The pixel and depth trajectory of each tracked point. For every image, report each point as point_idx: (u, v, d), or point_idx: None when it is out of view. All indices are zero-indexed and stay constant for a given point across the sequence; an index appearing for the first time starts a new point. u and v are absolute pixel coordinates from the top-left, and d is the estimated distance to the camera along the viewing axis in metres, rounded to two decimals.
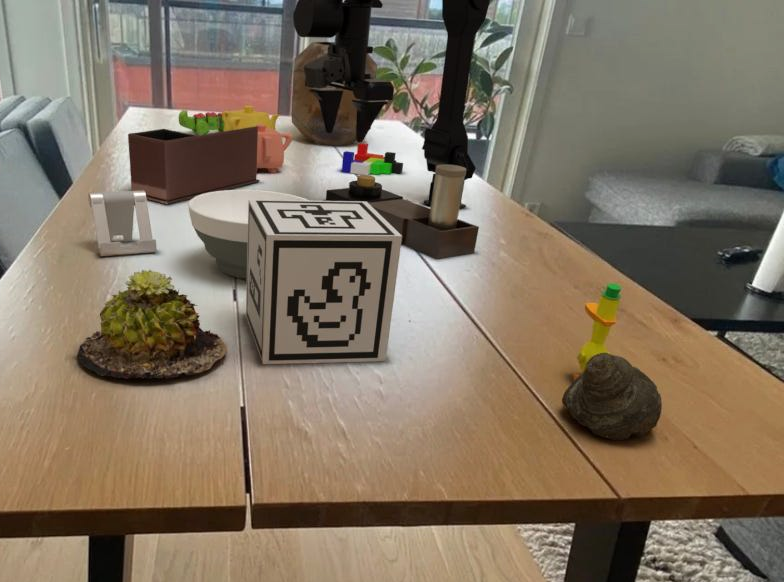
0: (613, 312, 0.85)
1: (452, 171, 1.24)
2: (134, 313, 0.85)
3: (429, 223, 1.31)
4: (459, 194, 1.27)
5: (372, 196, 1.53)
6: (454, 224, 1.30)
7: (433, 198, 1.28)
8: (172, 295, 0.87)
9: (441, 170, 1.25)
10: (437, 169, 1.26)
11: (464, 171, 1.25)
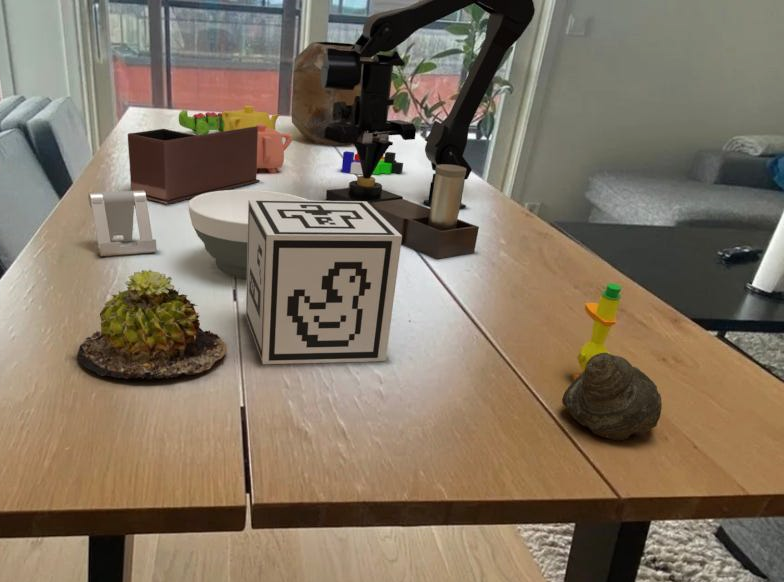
0: (613, 312, 0.85)
1: (452, 171, 1.24)
2: (134, 313, 0.85)
3: (429, 223, 1.31)
4: (459, 194, 1.27)
5: (372, 196, 1.53)
6: (454, 224, 1.30)
7: (433, 198, 1.28)
8: (172, 295, 0.87)
9: (441, 170, 1.25)
10: (437, 169, 1.26)
11: (464, 171, 1.25)
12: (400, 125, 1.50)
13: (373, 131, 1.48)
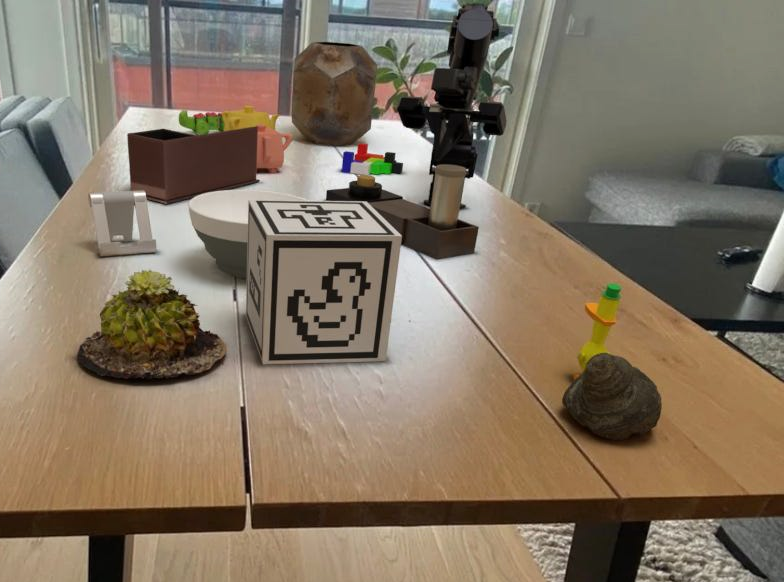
0: (613, 312, 0.85)
1: (452, 171, 1.24)
2: (134, 313, 0.85)
3: (429, 223, 1.31)
4: (459, 194, 1.27)
5: (372, 196, 1.53)
6: (454, 224, 1.30)
7: (433, 198, 1.28)
8: (172, 295, 0.87)
9: (441, 170, 1.25)
10: (437, 169, 1.26)
11: (464, 171, 1.25)
12: None
13: None
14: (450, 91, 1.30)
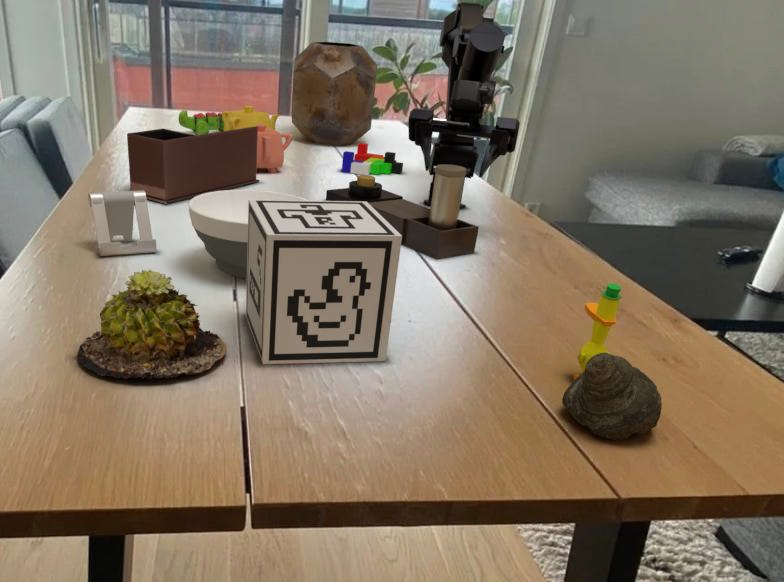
0: (613, 312, 0.85)
1: (452, 171, 1.24)
2: (134, 313, 0.85)
3: (429, 223, 1.31)
4: (459, 194, 1.27)
5: (372, 196, 1.53)
6: (454, 224, 1.30)
7: (433, 198, 1.28)
8: (172, 295, 0.87)
9: (441, 170, 1.25)
10: (437, 169, 1.26)
11: (464, 171, 1.25)
12: None
13: None
14: (468, 105, 1.28)
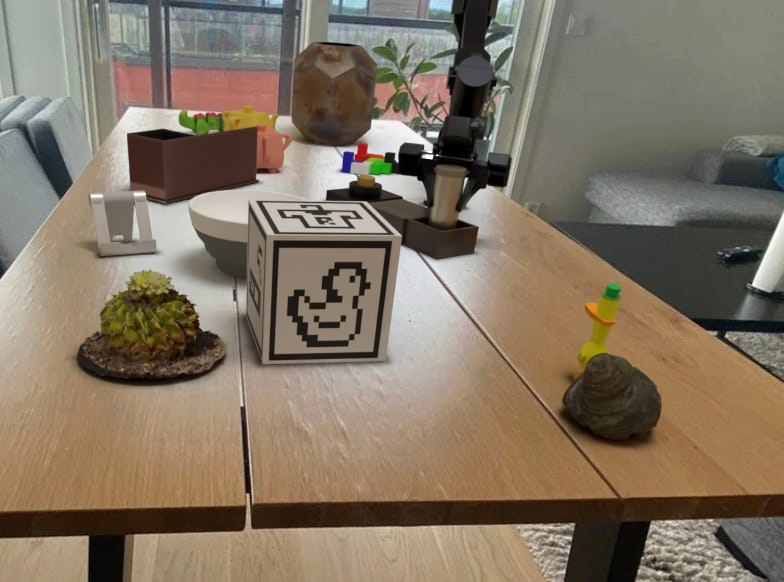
0: (613, 312, 0.85)
1: (452, 171, 1.24)
2: (134, 313, 0.85)
3: (429, 223, 1.31)
4: (459, 194, 1.27)
5: (372, 196, 1.53)
6: (454, 224, 1.30)
7: (433, 198, 1.28)
8: (172, 295, 0.87)
9: (441, 170, 1.25)
10: (437, 169, 1.26)
11: (464, 171, 1.25)
12: None
13: None
14: (459, 140, 1.25)
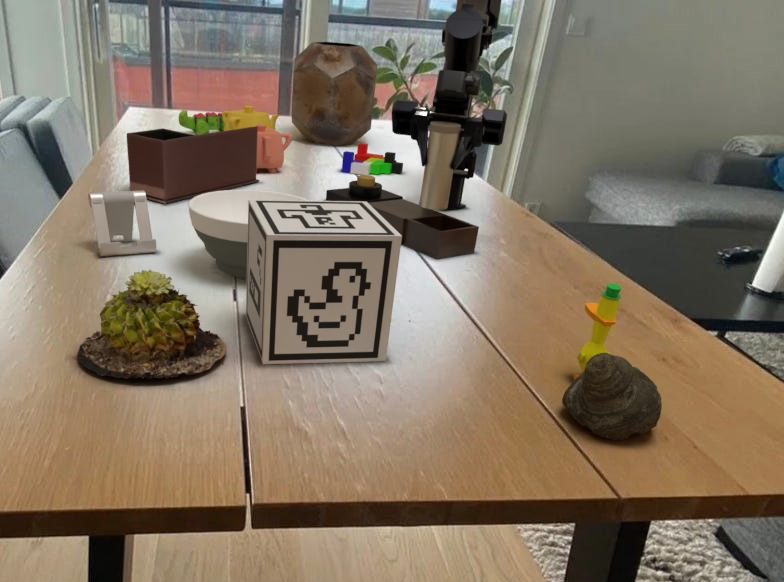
0: (613, 312, 0.85)
1: (446, 127, 1.22)
2: (134, 313, 0.85)
3: (423, 182, 1.28)
4: (454, 151, 1.25)
5: (372, 196, 1.53)
6: (449, 182, 1.28)
7: (427, 156, 1.26)
8: (172, 295, 0.87)
9: (435, 126, 1.23)
10: (431, 125, 1.24)
11: (459, 127, 1.23)
12: None
13: None
14: (453, 96, 1.23)
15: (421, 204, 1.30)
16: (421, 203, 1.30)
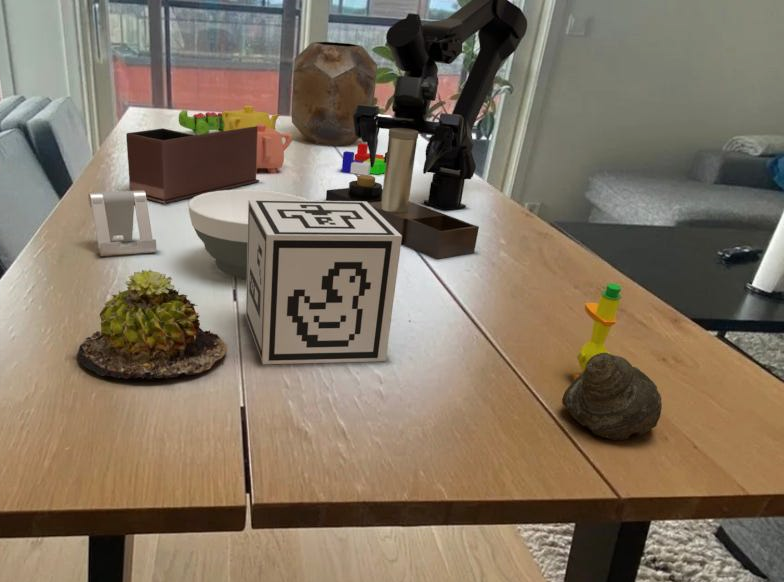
0: (613, 312, 0.85)
1: (404, 133, 1.27)
2: (134, 313, 0.85)
3: (384, 186, 1.34)
4: (412, 156, 1.30)
5: (372, 196, 1.53)
6: (408, 186, 1.33)
7: (387, 161, 1.31)
8: (172, 295, 0.87)
9: (393, 132, 1.28)
10: (389, 131, 1.29)
11: (416, 133, 1.28)
12: None
13: None
14: (411, 101, 1.28)
15: (382, 207, 1.35)
16: (382, 206, 1.35)
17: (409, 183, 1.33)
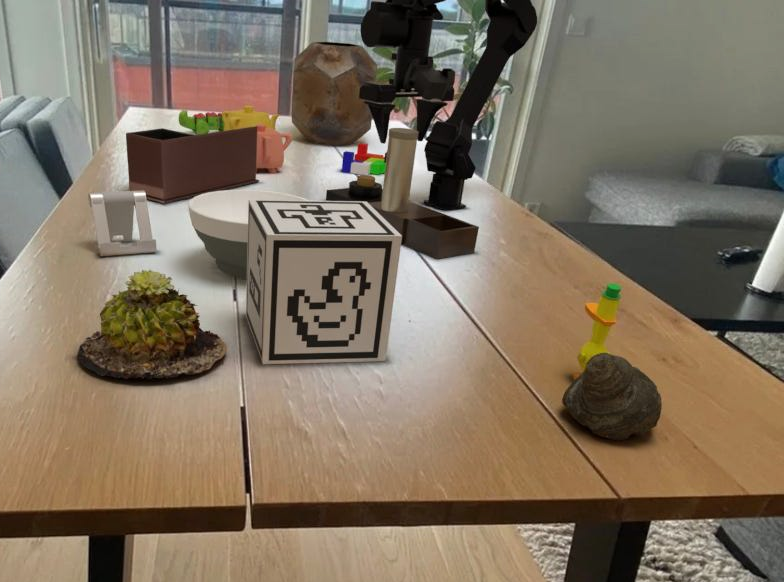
0: (613, 312, 0.85)
1: (404, 133, 1.27)
2: (134, 313, 0.85)
3: (384, 186, 1.34)
4: (412, 156, 1.30)
5: (372, 196, 1.53)
6: (408, 186, 1.33)
7: (387, 161, 1.31)
8: (172, 295, 0.87)
9: (393, 132, 1.28)
10: (389, 131, 1.29)
11: (416, 133, 1.28)
12: None
13: None
14: None
15: (382, 207, 1.35)
16: (382, 206, 1.35)
17: (409, 183, 1.33)
